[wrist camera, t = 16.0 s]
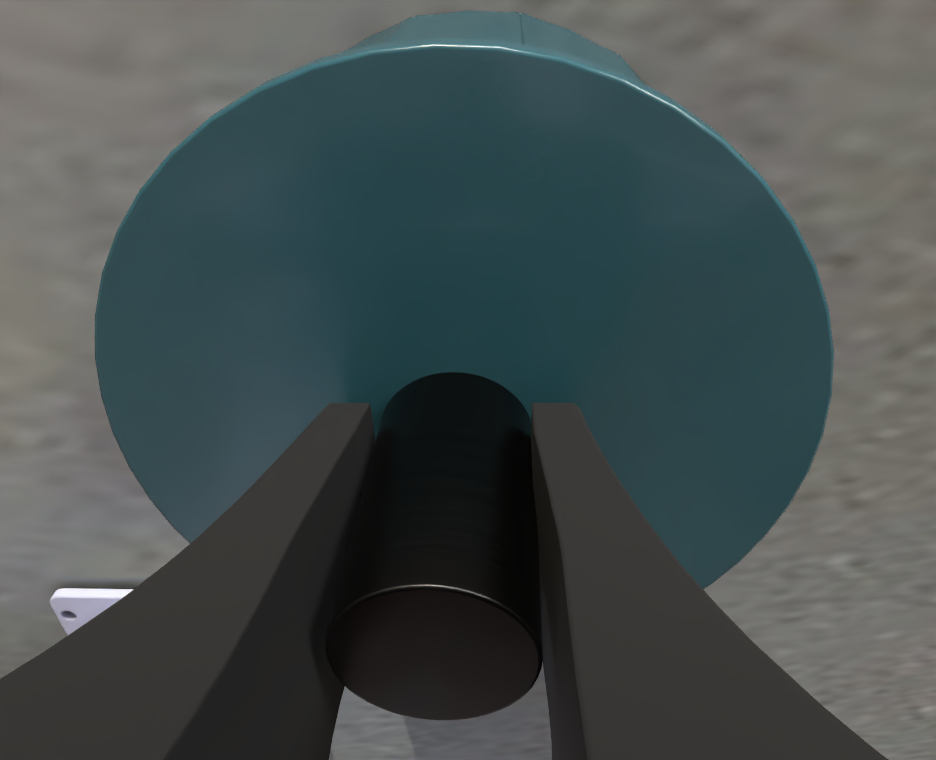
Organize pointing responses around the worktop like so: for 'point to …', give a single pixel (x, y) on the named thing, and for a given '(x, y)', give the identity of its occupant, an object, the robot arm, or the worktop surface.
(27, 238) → the worktop surface
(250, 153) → the lid
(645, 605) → the robot arm
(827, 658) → the worktop surface
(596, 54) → the pot
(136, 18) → the worktop surface
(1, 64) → the worktop surface
